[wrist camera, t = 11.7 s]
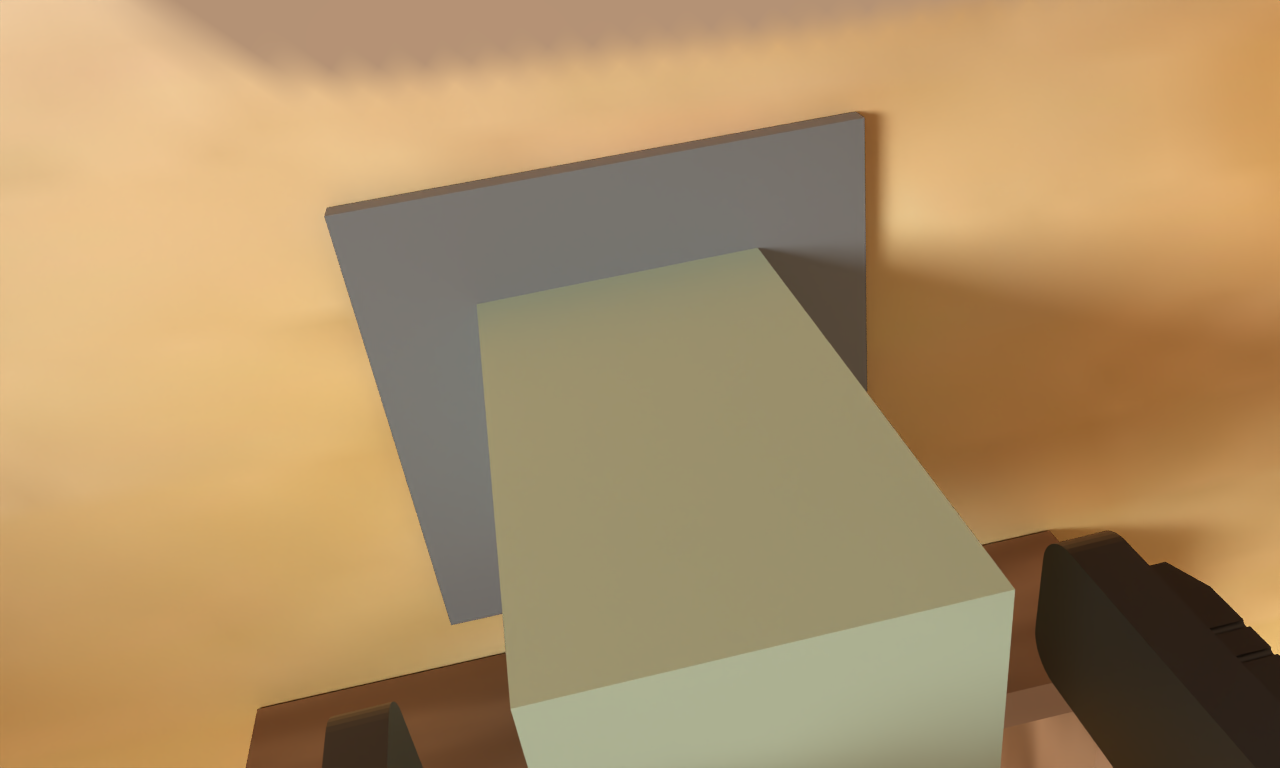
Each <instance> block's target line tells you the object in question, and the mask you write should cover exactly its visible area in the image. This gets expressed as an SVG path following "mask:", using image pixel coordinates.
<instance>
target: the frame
mask: <svg viewBox="0 0 1280 768" xmlns="http://www.w3.org/2000/svg"><path fill="white" fill-rule="evenodd" d="M1058 542H1059V541H1058V540H1057V539H1056V538H1055V537H1054V535H1053V534H1052V533H1051V532H1050V531H1046V532H1041V533H1037V534H1032V535H1028V536H1024V537H1019V538H1015V539H1010V540H1006V541H1001V542H997V543H992V544H988V545H984V546H983V547H984V549H985V550H986V551H987V553H988V554H989V555H990V557H991V558H992V559H993V561H994V562H995V563H996V565H997V566H998V567H999V569H1000V570H1001V571H1002V573H1003V574H1004V575H1005V577H1006V578H1007V579H1008V581H1009V582H1010V583H1011V585H1012V586H1013V587H1014V589H1015V597H1014V609H1013V621H1012V633H1011V645H1010V657H1009V669H1008V681H1007V693H1006V705H1005V717H1004V729H1003V741H1002V753H1001V765H1000V768H1113V767H1112V765H1111V764H1110V762H1109V761H1108V760H1107V758H1106V757H1105V755H1104V754H1103V753H1102V751H1101V750H1100V749H1099V747H1098V746H1097V744H1096V743H1095V742H1094V740H1093V739H1092V737H1091V736H1090V735H1089V733H1088V732H1087V730H1086V729H1085V728H1084V726H1083V725H1082V723H1081V722H1080V721H1079V719H1078V718H1077V717H1076V715H1075V714H1074V712H1073V711H1072V710H1071V708H1070V707H1069V705H1068V704H1067V703H1066V701H1065V700H1064V698H1063V697H1062V696H1061V694H1060V693H1059V692H1058V690H1057V689H1056V687H1055V686H1054V685H1053V683H1052V682H1051V680H1050V679H1049V677H1048V675H1047V673H1046V671H1045V669H1044V667H1043V665H1042V662H1041V659H1040V656H1039V653H1038V650H1037V645H1036V639H1035V626H1036V617H1037V608H1038V599H1039V590H1040V582H1041V573H1042V564H1043V556H1044V552H1045V550H1046V548H1047V547H1048V546H1049V545H1050V544H1054V543H1058ZM393 701H394V702H396V703H397V704H398V706H399V708H400V710H401V713H402V715H403V718H404V720H405V723H406V725H407V728H408V730H409V733H410V736H411V738H412V741H413V743H414V746H415V748H416V751H417V753H418V756H419V759H420V761H421V764H422V766H423V768H528V766H527V763H526V759H525V756H524V753H523V749H522V746H521V743H520V739H519V736H518V733H517V729H516V726H515V722H514V719H513V716H512V712H511V709H510V697H509V685H508V673H507V661H506V653H505V654H500V655H496V656H491V657H487V658H483V659H478V660H474V661H469V662H465V663H460V664H456V665H451V666H447V667H443V668H438V669H434V670H429V671H425V672H420V673H416V674H412V675H407V676H403V677H398V678H394V679H389V680H385V681H381V682H376V683H372V684H367V685H363V686H358V687H354V688H349V689H345V690H341V691H336V692H332V693H327V694H323V695H318V696H314V697H310V698H305V699H301V700H296V701H292V702H287V703H283V704H279V705H274V706H270V707H265V708H261V709H257V714H256V719H255V724H254V729H253V734H252V739H251V744H250V749H249V754H248V759H247V764H246V768H322V761H323V751H324V741H325V732H326V726H327V722H328V720H329V718H330V717H332V716H336V715H340V714H344V713H348V712H352V711H356V710H360V709H365V708H369V707H373V706H377V705H381V704H385V703H389V702H393Z"/></svg>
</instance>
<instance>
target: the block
mask: <svg viewBox="0 0 1280 768" xmlns="http://www.w3.org/2000/svg"><path fill="white" fill-rule="evenodd" d="M477 315H478V327H479V339H480V351H481V363H482V375H483V387H484V399H485V411H486V422H487V434H488V446H489V458H490V470H491V482H492V494H493V506H494V518H495V530H496V542H497V554H498V566H499V578H500V590H501V602H502V614H503V626H504V638H505V649H506V661H507V673H508V685H509V697H510V709H511V712H512V716H513V719H514V722H515V726H516V729H517V733H518V736H519V739H520V743H521V746H522V749H523V753H524V756H525V759H526V763H527V766H528V768H1000V765H1001V753H1002V741H1003V729H1004V717H1005V705H1006V693H1007V681H1008V669H1009V657H1010V645H1011V633H1012V621H1013V609H1014V597H1015V589H1014V587H1013V586H1012V585H1011V583H1010V582H1009V581H1008V579H1007V578H1006V577H1005V575H1004V574H1003V573H1002V571H1001V570H1000V569H999V567H998V566H997V565H996V563H995V562H994V561H993V559H992V558H991V557H990V555H989V554H988V553H987V551H986V550H985V549H984V547H983V546H982V545H981V544H980V542H979V541H978V540H977V538H976V537H975V536H974V534H973V533H972V532H971V530H970V529H969V528H968V526H967V525H966V524H965V522H964V521H963V520H962V518H961V517H960V516H959V514H958V513H957V512H956V510H955V509H954V508H953V506H952V505H951V504H950V502H949V501H948V500H947V498H946V497H945V496H944V494H943V493H942V492H941V490H940V489H939V488H938V486H937V485H936V484H935V482H934V481H933V480H932V478H931V477H930V476H929V474H928V473H927V472H926V470H925V469H924V468H923V466H922V465H921V464H920V463H919V461H918V460H917V459H916V457H915V456H914V455H913V453H912V452H911V451H910V449H909V448H908V447H907V445H906V444H905V443H904V441H903V440H902V439H901V437H900V436H899V435H898V433H897V432H896V431H895V429H894V428H893V427H892V425H891V424H890V423H889V421H888V420H887V419H886V417H885V416H884V415H883V413H882V412H881V411H880V409H879V408H878V407H877V405H876V404H875V403H874V401H873V400H872V399H871V397H870V396H869V395H868V393H867V392H866V391H865V389H864V388H863V387H862V386H861V384H860V383H859V382H858V380H857V379H856V378H855V376H854V375H853V374H852V372H851V371H850V370H849V368H848V367H847V366H846V364H845V363H844V362H843V360H842V359H841V358H840V356H839V355H838V354H837V352H836V351H835V350H834V348H833V347H832V346H831V344H830V343H829V342H828V340H827V339H826V338H825V336H824V335H823V334H822V332H821V331H820V330H819V328H818V327H817V326H816V324H815V323H814V322H813V320H812V319H811V318H810V316H809V315H808V314H807V312H806V311H805V310H804V308H803V307H802V306H801V305H800V303H799V302H798V301H797V299H796V298H795V297H794V295H793V294H792V293H791V291H790V290H789V289H788V287H787V286H786V285H785V283H784V282H783V281H782V279H781V278H780V277H779V275H778V274H777V273H776V271H775V270H774V269H773V267H772V266H771V265H770V263H769V262H768V261H767V259H766V258H765V257H764V255H763V254H762V253H761V251H760V250H759V249H758V248H754V249H749V250H744V251H739V252H734V253H729V254H724V255H719V256H714V257H709V258H704V259H699V260H694V261H690V262H685V263H680V264H675V265H670V266H665V267H660V268H655V269H650V270H645V271H640V272H635V273H630V274H625V275H620V276H615V277H610V278H605V279H600V280H595V281H590V282H585V283H580V284H575V285H570V286H565V287H560V288H555V289H550V290H545V291H540V292H535V293H530V294H525V295H520V296H515V297H510V298H505V299H500V300H495V301H490V302H486V303H481V304H477Z"/></svg>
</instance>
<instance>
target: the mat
mask: <svg viewBox="0 0 1280 768" xmlns="http://www.w3.org/2000/svg"><path fill="white" fill-rule="evenodd" d="M324 217H325V220H326V223H327V226H328V229H329V233H330V236H331V239H332V242H333V246H334V249H335V252H336V255H337V258H338V262H339V265H340V268H341V271H342V275H343V278H344V281H345V284H346V287H347V291H348V294H349V297H350V300H351V304H352V307H353V310H354V313H355V316H356V320H357V323H358V326H359V329H360V333H361V336H362V339H363V342H364V345H365V349H366V352H367V355H368V358H369V362H370V365H371V368H372V371H373V374H374V378H375V381H376V384H377V387H378V390H379V394H380V397H381V400H382V403H383V407H384V410H385V413H386V416H387V419H388V423H389V426H390V429H391V432H392V436H393V439H394V442H395V445H396V448H397V452H398V455H399V458H400V461H401V465H402V468H403V471H404V474H405V477H406V481H407V484H408V487H409V490H410V494H411V497H412V500H413V503H414V506H415V510H416V513H417V516H418V519H419V523H420V526H421V529H422V532H423V535H424V539H425V542H426V545H427V548H428V552H429V555H430V558H431V561H432V564H433V568H434V571H435V574H436V577H437V581H438V584H439V587H440V590H441V593H442V597H443V600H444V603H445V606H446V610H447V613H448V616H449V619H450V622H451V625H454V624H458V623H463V622H467V621H472V620H476V619H481V618H485V617H490V616H494V615H499V614H502V602H501V590H500V578H499V566H498V554H497V542H496V530H495V518H494V506H493V494H492V482H491V470H490V458H489V446H488V434H487V422H486V411H485V399H484V387H483V375H482V363H481V351H480V339H479V327H478V315H477V304H481V303H486V302H490V301H495V300H500V299H505V298H510V297H515V296H520V295H525V294H530V293H535V292H540V291H545V290H550V289H555V288H560V287H565V286H570V285H575V284H580V283H585V282H590V281H595V280H600V279H605V278H610V277H615V276H620V275H625V274H630V273H635V272H640V271H645V270H650V269H655V268H660V267H665V266H670V265H675V264H680V263H685V262H690V261H694V260H699V259H704V258H709V257H714V256H719V255H724V254H729V253H734V252H739V251H744V250H749V249H754V248H758V249H759V250H760V251H761V253H762V254H763V255H764V257H765V258H766V259H767V261H768V262H769V263H770V265H771V266H772V267H773V269H774V270H775V271H776V273H777V274H778V275H779V277H780V278H781V279H782V281H783V282H784V283H785V285H786V286H787V287H788V289H789V290H790V291H791V293H792V294H793V295H794V297H795V298H796V299H797V301H798V302H799V303H800V305H801V306H802V307H803V308H804V310H805V311H806V312H807V314H808V315H809V316H810V318H811V319H812V320H813V322H814V323H815V324H816V326H817V327H818V328H819V330H820V331H821V332H822V334H823V335H824V336H825V338H826V339H827V340H828V342H829V343H830V344H831V346H832V347H833V348H834V350H835V351H836V352H837V354H838V355H839V356H840V358H841V359H842V360H843V362H844V363H845V364H846V366H847V367H848V368H849V370H850V371H851V372H852V374H853V375H854V376H855V378H856V379H857V380H858V382H859V383H860V384H861V386H862V387H863V388H864V389H865V391H866V392H867V340H866V232H865V124H864V117H863V116H861V115H860V114H858V113H857V112H851V113H846V114H840V115H835V116H829V117H824V118H818V119H813V120H807V121H802V122H796V123H791V124H785V125H780V126H774V127H769V128H763V129H758V130H752V131H747V132H741V133H736V134H730V135H725V136H719V137H714V138H708V139H703V140H697V141H692V142H686V143H681V144H675V145H670V146H664V147H659V148H653V149H648V150H642V151H637V152H631V153H626V154H620V155H615V156H609V157H604V158H598V159H593V160H587V161H582V162H576V163H571V164H565V165H560V166H554V167H549V168H543V169H538V170H532V171H527V172H521V173H516V174H510V175H505V176H499V177H494V178H488V179H483V180H477V181H472V182H466V183H461V184H455V185H450V186H444V187H439V188H433V189H428V190H422V191H417V192H411V193H406V194H400V195H395V196H389V197H384V198H378V199H373V200H367V201H362V202H356V203H351V204H345V205H340V206H334V207H329V208H327V209H326V212H325V216H324Z"/></svg>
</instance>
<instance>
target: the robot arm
mask: <svg viewBox="0 0 1280 768" xmlns="http://www.w3.org/2000/svg"><path fill="white" fill-rule="evenodd" d="M1035 639H1036V645H1037V650H1038V653H1039V656H1040V659H1041V662H1042V665H1043V667H1044V669H1045V671H1046V673H1047V675H1048V677H1049V679H1050V680H1051V682H1052V683H1053V685H1054V686H1055V687H1056V689H1057V690H1058V692H1059V693H1060V694H1061V696H1062V697H1063V698H1064V700H1065V701H1066V703H1067V704H1068V705H1069V707H1070V708H1071V710H1072V711H1073V712H1074V714H1075V715H1076V717H1077V718H1078V719H1079V721H1080V722H1081V723H1082V725H1083V726H1084V728H1085V729H1086V730H1087V732H1088V733H1089V735H1090V736H1091V737H1092V739H1093V740H1094V742H1095V743H1096V744H1097V746H1098V747H1099V749H1100V750H1101V751H1102V753H1103V754H1104V755H1105V757H1106V758H1107V760H1108V761H1109V762H1110V764H1111V765H1112V767H1113V768H1280V656H1279V655H1278V654H1276V655H1274V654H1273V653H1272V651H1271V647H1270V646H1269V645H1268V644H1267V643H1266V642H1265V641H1264V640H1263V639H1262V638H1261V637H1260V636H1259V635H1258V634H1257V633H1256V632H1255V631H1254V630H1253V629H1252V628H1251V627H1246V626H1245V625H1244V622H1243V619H1242V618H1241V617H1240V616H1239V615H1238V614H1237V613H1236V612H1235V611H1234V610H1233V609H1232V608H1231V607H1230V606H1229V605H1228V604H1227V603H1226V602H1225V601H1224V600H1223V599H1222V598H1221V597H1220V596H1219V595H1218V594H1217V593H1216V592H1215V591H1214V590H1213V589H1212V588H1211V587H1210V586H1208V585H1206V584H1204V583H1202V582H1201V581H1199V580H1197V579H1195V578H1193V577H1192V576H1190V575H1188V574H1186V573H1184V572H1183V571H1181V570H1179V569H1177V568H1175V567H1174V566H1172V565H1170V564H1168V563H1166V562H1163V563H1159V564H1155V565H1151V566H1149V565H1148V564H1147V563H1146V562H1145V561H1144V560H1143V559H1142V558H1141V556H1140V555H1139V554H1138V553H1137V552H1136V551H1135V550H1134V549H1133V548H1132V547H1131V546H1130V545H1129V544H1128V543H1127V542H1126V541H1125V540H1124V539H1123V538H1122V537H1121V536H1120V535H1118V534H1117V533H1115V532H1112V531H1103V532H1099V533H1095V534H1091V535H1087V536H1083V537H1078V538H1074V539H1070V540H1066V541H1062V542H1058V543H1054V544H1050V545H1049V546H1048V547H1047V548H1046V550H1045V552H1044V556H1043V564H1042V573H1041V582H1040V590H1039V599H1038V608H1037V617H1036V626H1035ZM322 768H423V766H422V764H421V761H420V759H419V756H418V753H417V751H416V748H415V746H414V743H413V741H412V738H411V736H410V733H409V730H408V728H407V725H406V723H405V720H404V718H403V715H402V713H401V710H400V708H399V706H398V704H397V703H396V702H394V701H393V702H389V703H385V704H381V705H377V706H373V707H369V708H365V709H360V710H356V711H352V712H348V713H344V714H340V715H336V716H332V717H330V718H329V720H328V722H327V726H326V732H325V741H324V751H323V761H322Z"/></svg>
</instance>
